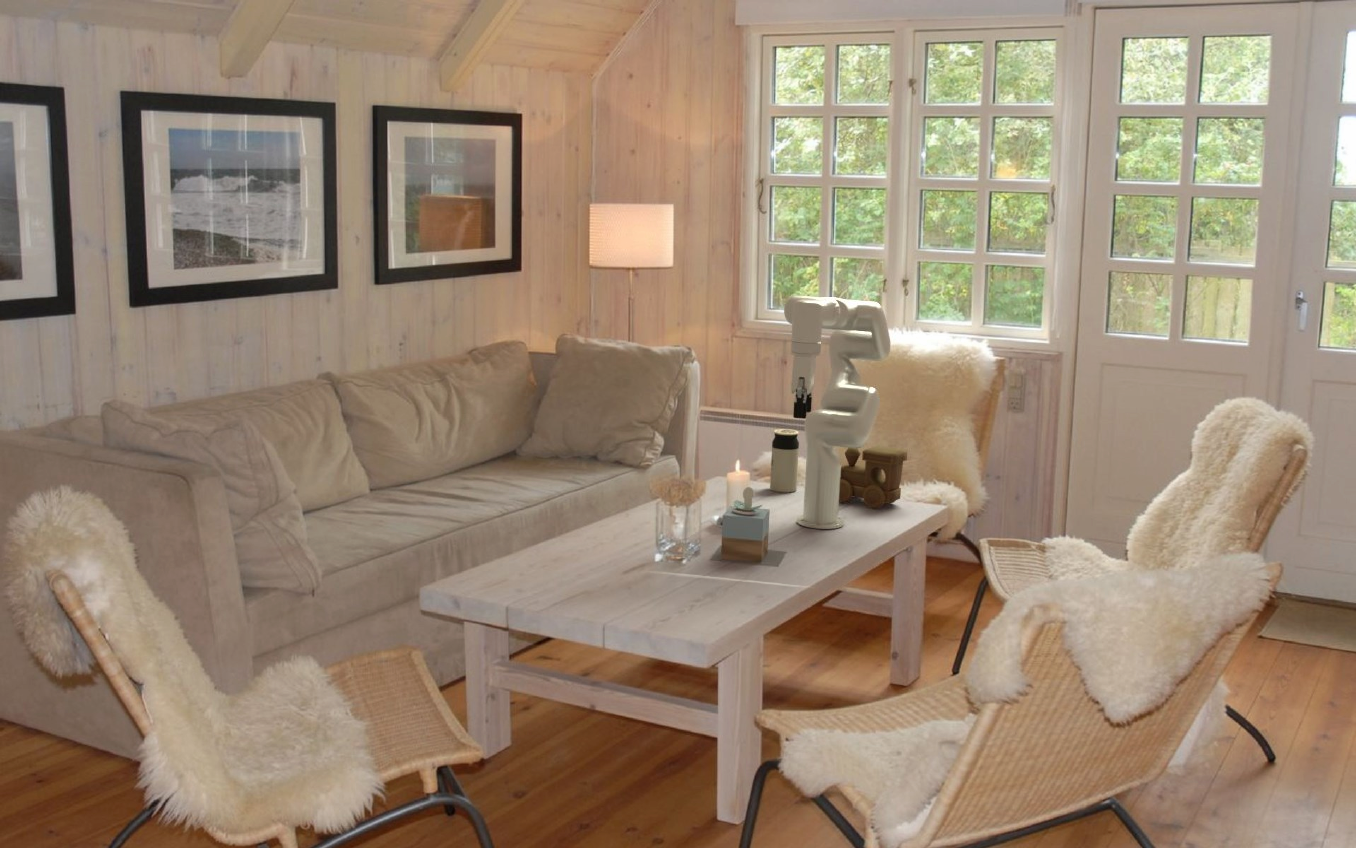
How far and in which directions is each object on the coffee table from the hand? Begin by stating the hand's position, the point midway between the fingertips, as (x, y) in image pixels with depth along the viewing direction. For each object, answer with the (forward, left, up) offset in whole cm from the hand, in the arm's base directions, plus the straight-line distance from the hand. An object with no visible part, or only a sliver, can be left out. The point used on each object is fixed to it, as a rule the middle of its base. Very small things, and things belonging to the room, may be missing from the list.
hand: (802, 414), depth 359 cm
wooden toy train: (-49, +14, -34) cm, 61 cm away
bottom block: (+20, -10, -33) cm, 40 cm away
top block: (+20, -10, -27) cm, 35 cm away
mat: (+20, -9, -33) cm, 40 cm away
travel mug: (-57, -12, -34) cm, 67 cm away
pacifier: (+21, -10, -22) cm, 32 cm away
